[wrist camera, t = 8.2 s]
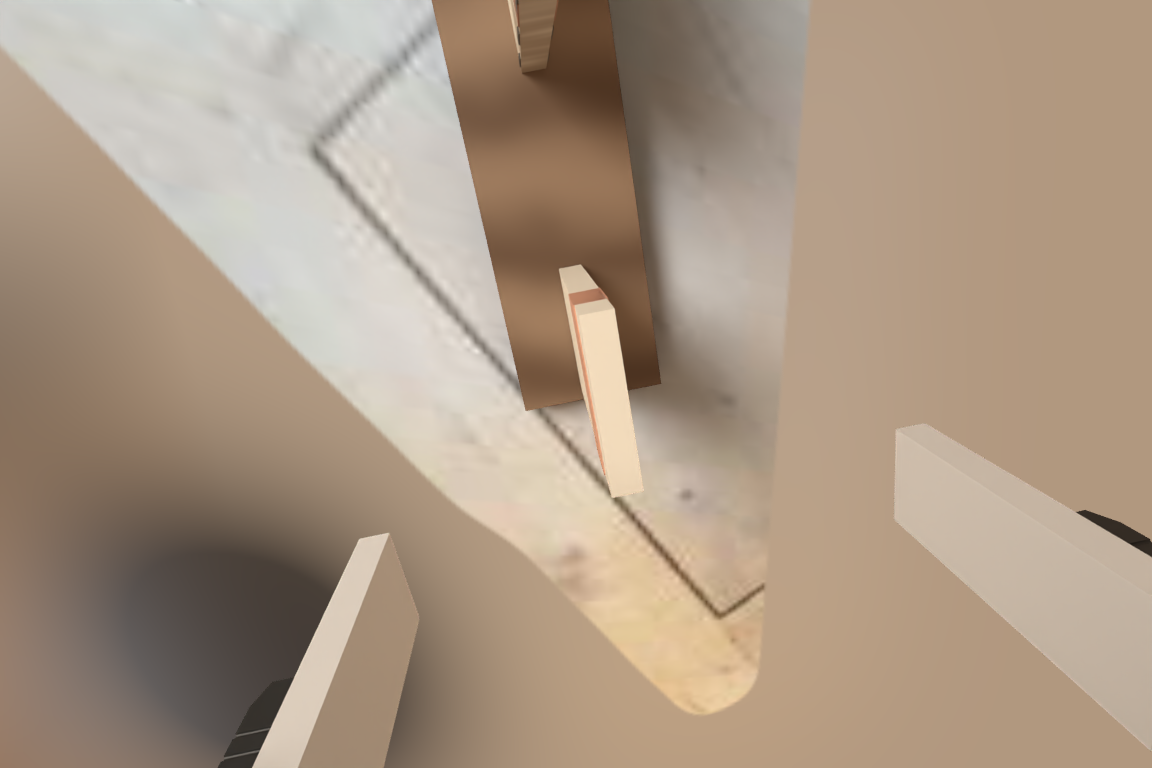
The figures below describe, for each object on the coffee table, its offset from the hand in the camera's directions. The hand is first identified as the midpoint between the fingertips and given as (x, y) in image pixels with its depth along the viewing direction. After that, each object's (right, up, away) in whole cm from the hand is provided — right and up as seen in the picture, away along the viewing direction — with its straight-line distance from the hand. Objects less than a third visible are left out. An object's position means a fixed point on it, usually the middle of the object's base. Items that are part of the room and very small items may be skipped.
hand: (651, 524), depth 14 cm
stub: (-2, +7, +16) cm, 18 cm away
